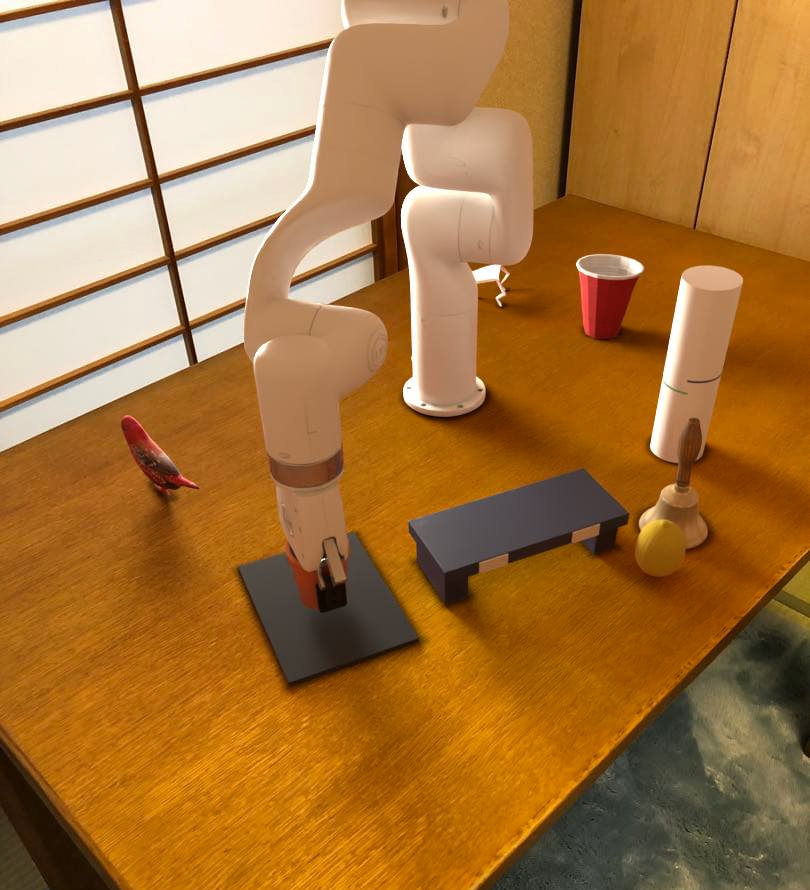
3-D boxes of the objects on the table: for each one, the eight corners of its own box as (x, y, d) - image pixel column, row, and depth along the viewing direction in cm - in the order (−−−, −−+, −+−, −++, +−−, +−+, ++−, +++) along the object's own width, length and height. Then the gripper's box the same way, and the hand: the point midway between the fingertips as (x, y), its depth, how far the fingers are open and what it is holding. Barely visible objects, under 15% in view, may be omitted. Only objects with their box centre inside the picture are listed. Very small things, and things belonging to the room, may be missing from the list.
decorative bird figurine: (144, 466, 123) (127, 405, 116) (217, 521, 113) (203, 458, 107) (126, 475, 122) (107, 414, 115) (198, 532, 112) (183, 468, 105)
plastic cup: (644, 325, 150) (654, 257, 142) (619, 351, 143) (629, 282, 136) (585, 311, 155) (592, 244, 147) (559, 336, 148) (565, 268, 140)
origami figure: (499, 315, 155) (500, 289, 151) (455, 307, 157) (455, 281, 154) (522, 288, 163) (524, 262, 159) (480, 281, 166) (481, 255, 162)
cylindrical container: (704, 465, 119) (745, 292, 103) (650, 460, 120) (682, 288, 104) (701, 436, 124) (740, 267, 108) (650, 432, 126) (680, 264, 109)
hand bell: (668, 558, 105) (693, 448, 95) (625, 520, 111) (643, 412, 100) (721, 536, 108) (751, 427, 98) (676, 500, 114) (699, 393, 103)
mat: (238, 570, 106) (237, 566, 106) (354, 535, 110) (353, 531, 110) (289, 686, 92) (288, 683, 92) (419, 641, 96) (419, 638, 96)
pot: (284, 582, 101) (276, 534, 97) (341, 565, 103) (336, 516, 99) (303, 622, 96) (296, 573, 92) (362, 603, 98) (358, 554, 94)
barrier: (409, 558, 107) (407, 520, 103) (578, 505, 113) (583, 467, 110) (445, 612, 99) (445, 574, 96) (624, 552, 106) (631, 513, 102)
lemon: (669, 596, 100) (682, 544, 95) (623, 580, 103) (633, 527, 97) (685, 568, 104) (698, 516, 99) (640, 553, 106) (650, 501, 101)
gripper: (246, 424, 93) (268, 552, 104) (297, 517, 81) (316, 650, 92) (313, 407, 95) (327, 534, 107) (373, 495, 83) (382, 628, 94)
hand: (322, 587), depth 99 cm, fingers closed on pot, 6 cm apart
